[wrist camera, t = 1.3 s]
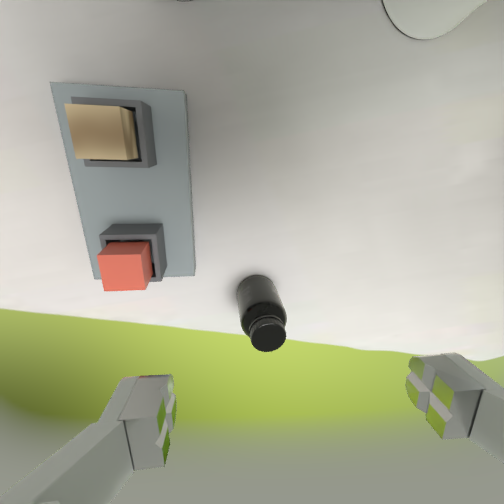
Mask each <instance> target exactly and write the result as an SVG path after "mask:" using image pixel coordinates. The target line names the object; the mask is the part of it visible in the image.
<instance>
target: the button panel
mask: <svg viewBox="0 0 504 504" xmlns="http://www.w3.org/2000/svg"><path fill="white" fill-rule="evenodd" d="M50 85H51V90H52V94H53V99H54V103H55V108H56V112H57V116H58V121H59V125H60V130H61V134H62V138H63V143H64V147H65V152H66V156H67V160H68V165H69V169H70V174H71V178H72V183H73V187H74V191H75V196H76V200H77V205H78V209H79V213H80V218H81V222H82V227H83V231H84V236H85V240H86V244H87V249H88V253H89V258H90V262H91V266H92V271H93V275H94V279H102V278H101V273H100V269H99V264H98V259H97V254H99V253H100V252H101V251H102V250H103V249H104V248H105V247H106V246H107V245H108V244H109V243H110V242H149V246H150V254H151V262H152V270H153V275H152V277H151V279H150V281H149V282H157V281H162V278H163V277H180V276H195V269H196V264H195V246H194V228H193V209H192V191H191V173H190V155H189V136H188V118H187V100H186V94H185V92H184V91H182V90H166V89H151V88H135V87H120V86H105V85H89V84H74V83H58V82H50ZM64 103H65V104H83V105H102V106H119V107H122V108H124V109H127V110H130V111H132V112H133V120H134V128H135V136H136V144H137V151H138V158H135V159H130V160H107V159H76V157H75V152H74V147H73V143H72V138H71V133H70V129H69V124H68V119H67V115H66V110H65V105H64Z"/></svg>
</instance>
